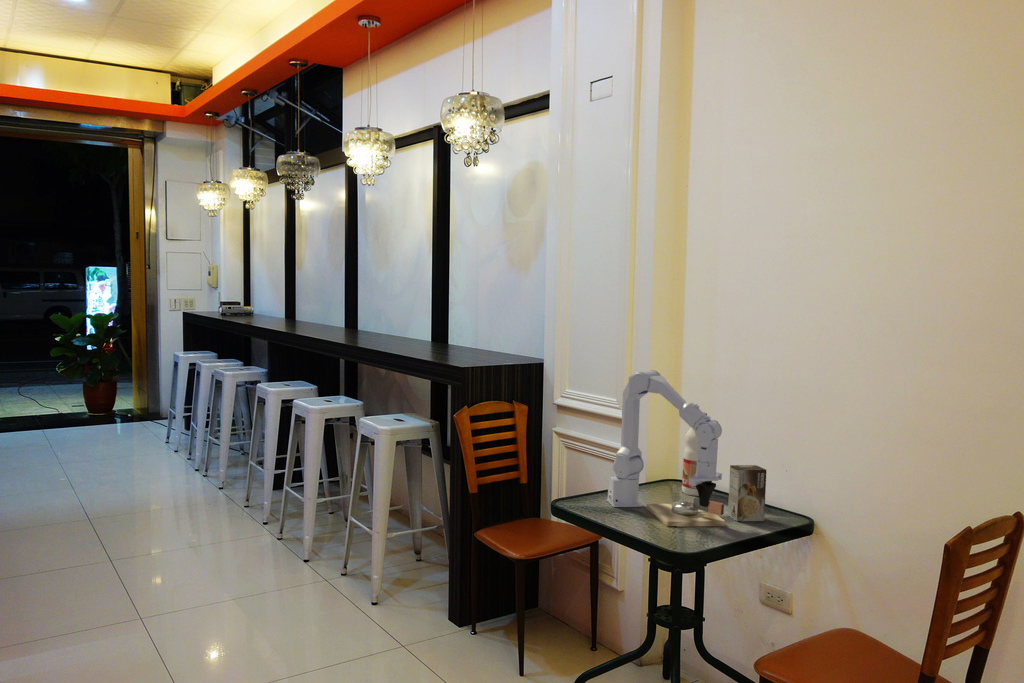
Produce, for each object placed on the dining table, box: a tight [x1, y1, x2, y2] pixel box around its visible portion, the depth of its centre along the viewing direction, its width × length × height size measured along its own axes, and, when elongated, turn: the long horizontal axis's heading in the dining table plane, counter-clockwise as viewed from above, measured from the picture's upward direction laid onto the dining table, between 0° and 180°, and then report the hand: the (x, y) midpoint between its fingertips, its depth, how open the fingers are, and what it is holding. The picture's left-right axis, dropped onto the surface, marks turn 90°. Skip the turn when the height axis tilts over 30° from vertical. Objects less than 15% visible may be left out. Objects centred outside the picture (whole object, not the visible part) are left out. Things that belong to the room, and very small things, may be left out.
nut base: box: [646, 503, 726, 527], centre depth 222 cm, size 20×18×2 cm
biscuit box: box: [727, 464, 767, 522], centre depth 222 cm, size 9×6×16 cm
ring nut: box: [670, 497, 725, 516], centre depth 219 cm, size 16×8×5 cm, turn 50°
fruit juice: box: [681, 411, 708, 497], centre depth 250 cm, size 9×9×28 cm
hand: (703, 506), depth 216 cm, fingers closed, pressing on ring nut
